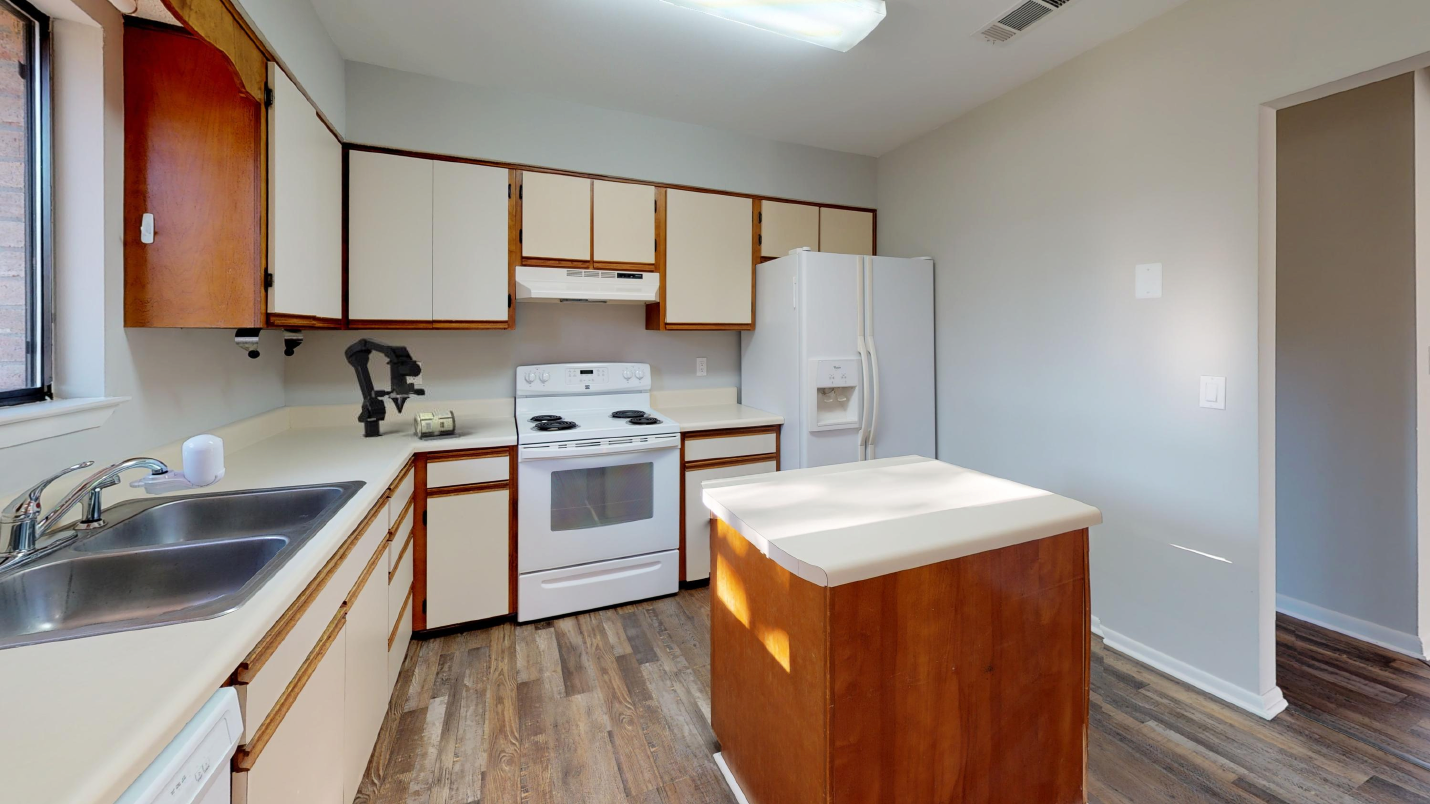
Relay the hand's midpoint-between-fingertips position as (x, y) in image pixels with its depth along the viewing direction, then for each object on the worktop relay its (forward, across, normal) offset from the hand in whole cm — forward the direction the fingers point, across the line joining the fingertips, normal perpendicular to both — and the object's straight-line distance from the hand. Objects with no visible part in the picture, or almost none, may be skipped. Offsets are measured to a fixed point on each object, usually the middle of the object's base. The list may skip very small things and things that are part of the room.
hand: (399, 413), depth 234 cm
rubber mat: (+11, +14, 0) cm, 17 cm away
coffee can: (+5, +5, -4) cm, 8 cm away
